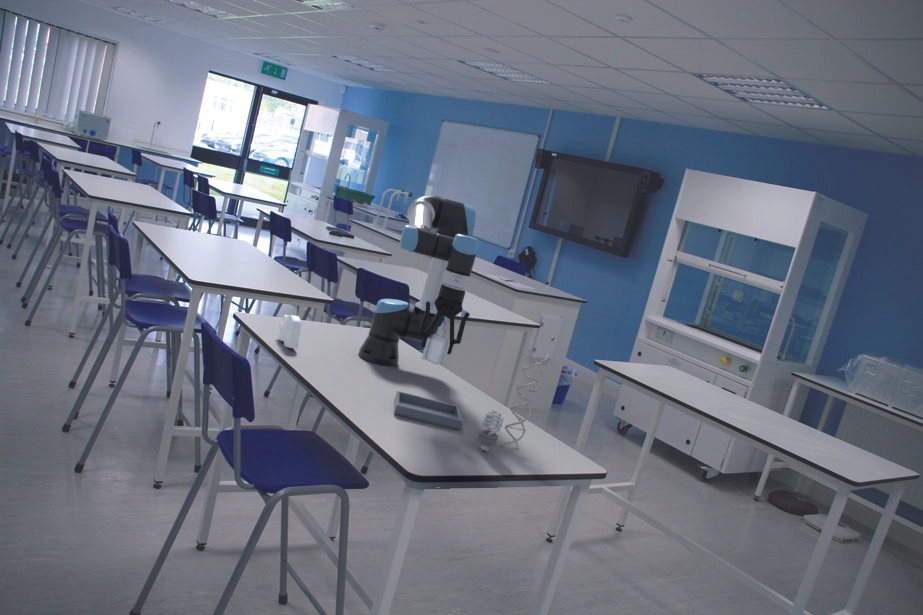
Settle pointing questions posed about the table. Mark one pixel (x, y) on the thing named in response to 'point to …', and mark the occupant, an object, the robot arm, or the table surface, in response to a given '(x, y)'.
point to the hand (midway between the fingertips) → (432, 360)
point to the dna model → (525, 398)
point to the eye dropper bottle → (436, 346)
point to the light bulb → (488, 436)
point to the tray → (427, 410)
